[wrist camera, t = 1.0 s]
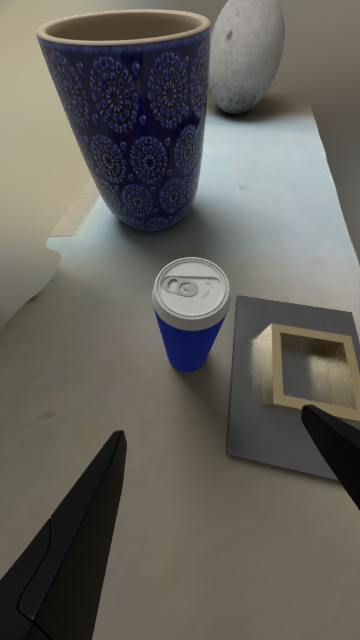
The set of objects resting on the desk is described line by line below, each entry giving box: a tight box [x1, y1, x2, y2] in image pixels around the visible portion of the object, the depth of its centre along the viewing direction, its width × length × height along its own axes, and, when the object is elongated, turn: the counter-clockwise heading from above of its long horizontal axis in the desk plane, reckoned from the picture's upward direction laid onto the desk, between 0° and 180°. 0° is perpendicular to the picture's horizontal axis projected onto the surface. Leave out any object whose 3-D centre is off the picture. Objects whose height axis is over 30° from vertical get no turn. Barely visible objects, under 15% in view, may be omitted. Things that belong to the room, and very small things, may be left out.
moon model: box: [208, 0, 285, 114], centre depth 50 cm, size 20×20×20 cm
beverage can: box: [152, 257, 231, 372], centre depth 18 cm, size 5×5×15 cm
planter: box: [37, 10, 211, 231], centre depth 28 cm, size 18×18×21 cm
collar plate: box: [226, 295, 360, 481], centre depth 21 cm, size 20×16×4 cm
